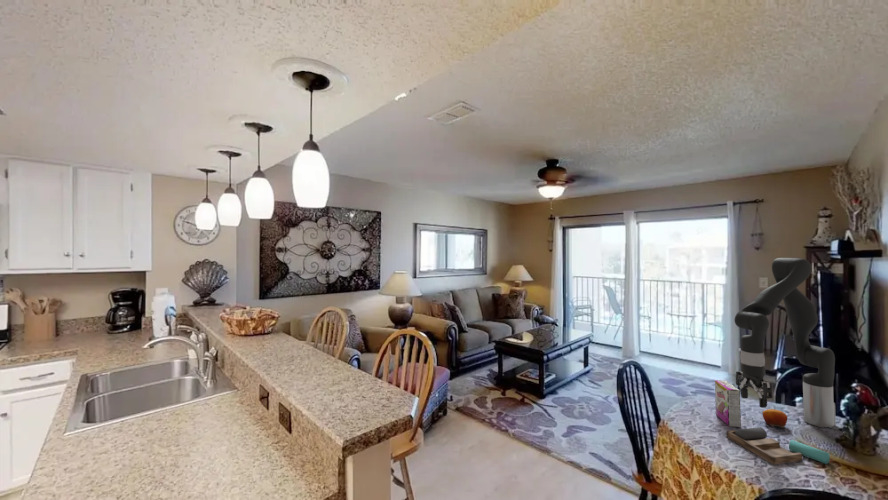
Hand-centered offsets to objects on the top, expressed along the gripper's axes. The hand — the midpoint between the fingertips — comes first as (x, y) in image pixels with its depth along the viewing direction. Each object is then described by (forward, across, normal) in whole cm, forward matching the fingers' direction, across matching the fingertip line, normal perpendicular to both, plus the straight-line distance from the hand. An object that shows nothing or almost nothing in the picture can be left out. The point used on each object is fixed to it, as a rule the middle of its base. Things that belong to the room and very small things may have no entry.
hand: (753, 402), depth 148 cm
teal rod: (+15, +10, +12) cm, 22 cm away
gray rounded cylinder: (+15, 0, -1) cm, 15 cm away
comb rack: (+16, +5, -1) cm, 16 cm away
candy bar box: (+16, -17, +3) cm, 23 cm away
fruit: (+16, -11, +19) cm, 28 cm away
